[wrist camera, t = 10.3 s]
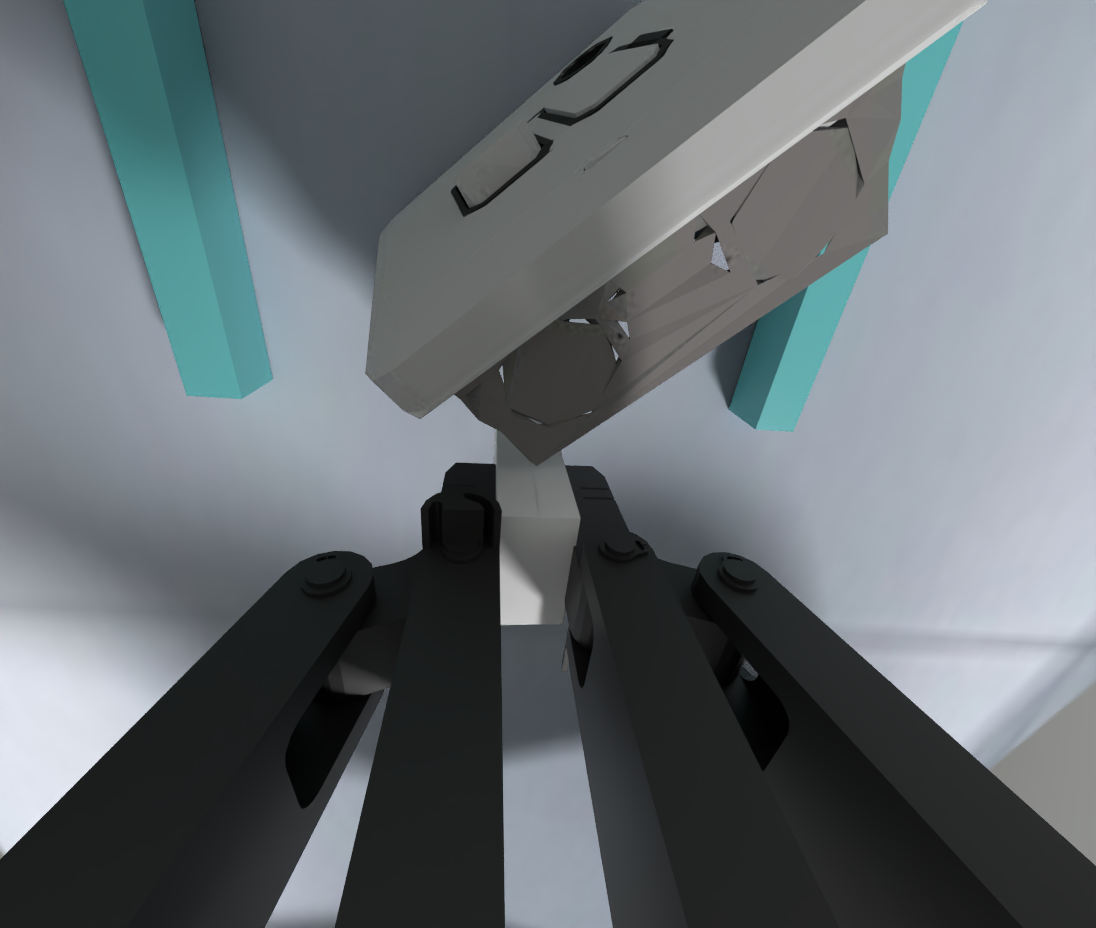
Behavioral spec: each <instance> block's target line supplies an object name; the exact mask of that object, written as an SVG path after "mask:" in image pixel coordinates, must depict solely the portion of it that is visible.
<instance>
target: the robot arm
mask: <svg viewBox="0 0 1096 928" xmlns="http://www.w3.org/2000/svg"><path fill="white" fill-rule="evenodd" d="M527 418H528V417H527ZM529 419H530V418H529ZM531 420H532V421H534V422H535V423H537V424H542V423H541V422H539V421H536V420H533V419H531ZM532 463H533V462H532ZM532 463H531V462H530V461H529V460H528V459H527V458H526V457H525V456H524V455H523V454H522V453H521V452H520V451H519V450H518V449H517V448H516V447H515V446H514V445H513V444H512V443H511V442H510V440H509V439H508V438H507V437H506V436H505V435H504V434H503V433H502V432H501V431H499V430H497V429H495V445H494V464H479V463H455V464H454V465H453V466H452V467H451V468H450V469H449V470H448V471H447V472H446V473H445V477H444V482H443V487H442V491H441V493H437V494H435V495H434V496H432V497H431V498H429V499H428V500H426V501H425V503H424V505H423V506H422V508H421V526H422V546H423V549H422V550H421V551H420V552H419V553H417V554H416V555H414V556H412V557H410V558H408V559H406V560H403V561H400V562H396V563H393V564H388V565H384V566H379V567H375V568H372V564H371V563H370V562H369V561H368V560H367V559H366V558H365V557H364V556H362V555H359V554H356V553H353V552H349V551H332V552H327V553H322V554H317V555H315V556H312V557H310V558H308V559H305V560H303V561H301V562H299V563H298V564H296V565H295V566H294V567H292V568H291V569H290V570H288V571H287V572H286V573H285V574H284V575H283V576H282V577H281V578H280V579H279V580H278V581H277V582H276V583H275V584H274V585H273V586H272V587H271V588H270V589H269V590H268V591H267V592H266V593H265V594H264V595H263V596H262V597H261V598H260V599H259V600H258V601H257V602H256V603H255V604H254V605H253V606H252V607H251V608H250V609H249V610H248V611H247V612H246V613H245V614H244V615H243V616H242V617H241V618H240V619H239V620H238V621H237V622H236V623H235V624H234V625H233V626H232V627H231V628H230V629H229V630H228V631H227V632H226V633H225V634H224V635H223V636H222V637H221V638H220V639H219V640H218V641H217V642H216V643H215V644H214V645H213V646H212V647H211V648H210V649H209V650H208V651H207V652H206V653H205V654H204V655H203V656H202V657H201V658H200V659H199V660H198V661H197V662H196V663H195V664H194V665H193V666H192V667H191V668H190V669H189V670H188V671H187V672H186V673H185V674H184V675H183V676H182V677H181V678H180V679H179V680H178V681H177V682H176V683H175V684H174V685H173V686H172V687H171V688H170V689H169V690H168V691H167V693H166V694H165V695H164V696H163V697H162V698H161V699H160V700H159V701H158V702H157V703H156V704H155V705H154V706H153V707H152V708H151V709H150V710H149V711H148V712H147V713H146V714H145V715H144V716H143V717H142V718H141V719H140V720H139V721H138V722H137V723H136V724H135V725H134V726H133V727H132V728H131V729H130V730H129V731H128V732H127V733H126V734H125V735H124V736H123V737H122V738H121V739H120V740H119V741H118V742H117V743H116V744H115V745H114V746H113V747H112V748H111V749H110V750H109V751H108V752H107V753H106V754H105V755H104V756H103V757H102V758H101V759H100V760H99V761H98V762H97V763H96V764H95V765H94V766H93V767H92V768H91V769H90V770H89V771H88V772H87V773H86V774H85V775H84V776H83V777H82V778H81V779H80V780H79V781H78V782H77V783H76V784H75V785H74V786H73V787H72V788H71V789H70V790H69V791H68V792H67V793H66V794H65V795H64V796H63V797H62V798H61V799H60V800H59V801H58V802H57V803H56V804H55V805H54V806H53V807H52V808H51V809H50V810H49V811H48V812H47V813H46V814H45V815H44V816H43V817H42V818H41V819H40V820H39V821H38V822H37V823H36V824H35V825H34V826H33V827H32V828H31V829H30V830H29V831H28V832H27V833H26V834H25V835H24V836H23V837H22V838H21V839H20V840H19V841H18V842H17V843H16V844H15V845H14V846H13V847H12V848H11V849H10V850H9V851H8V852H7V853H6V854H5V855H4V856H3V857H2V858H1V859H0V928H265V926H266V924H267V922H268V920H269V918H270V916H271V914H272V912H273V910H274V908H275V906H276V904H277V902H278V900H279V898H280V896H281V894H282V892H283V890H284V888H285V886H286V884H287V883H288V881H289V879H290V877H291V875H292V873H293V871H294V869H295V867H296V865H297V863H298V861H299V859H300V857H301V855H302V853H303V851H304V849H305V847H306V845H307V843H308V841H309V839H310V837H311V835H312V833H313V831H314V829H315V827H316V825H317V823H318V821H319V819H320V817H321V815H322V813H323V811H324V809H325V807H326V805H327V803H328V802H329V800H330V798H331V796H332V794H333V792H334V790H335V788H336V786H337V784H338V782H339V780H340V778H341V776H342V774H343V772H344V770H345V768H346V766H347V764H348V762H349V760H350V758H351V756H352V754H353V752H354V750H355V748H356V746H357V744H358V742H359V740H360V738H361V736H362V734H363V732H364V730H365V728H366V726H367V724H368V723H369V721H370V719H371V717H372V715H373V713H374V711H375V709H376V707H377V705H378V703H379V701H380V699H381V697H382V695H383V692H384V689H385V688H388V687H390V691H389V696H388V700H387V704H386V709H385V713H384V717H383V722H382V726H381V730H380V735H379V739H378V743H377V747H376V752H375V756H374V760H373V765H372V769H371V773H370V778H369V782H368V786H367V791H366V795H365V799H364V804H363V808H362V812H361V816H360V821H359V825H358V829H357V834H356V838H355V842H354V847H353V851H352V855H351V860H350V864H349V868H348V873H347V877H346V881H345V885H344V890H343V894H342V898H341V903H340V907H339V911H338V916H337V920H336V924H335V928H505V902H504V830H503V758H502V685H501V625H533V624H563V619H564V613H565V607H566V611H567V617H568V622H569V628H568V633H567V639H566V644H565V650H564V655H563V661H562V672H567V669H568V664H569V666H570V672H571V678H572V684H573V690H574V696H575V702H576V708H577V714H578V720H579V726H580V732H581V738H582V744H583V750H584V756H585V762H586V768H587V774H588V780H589V786H590V792H591V798H592V804H593V810H594V816H595V822H596V828H597V834H598V840H599V846H600V852H601V858H602V864H603V870H604V876H605V882H606V888H607V894H608V900H609V906H610V912H611V918H612V924H613V928H1096V866H1095V865H1094V864H1093V863H1092V862H1091V861H1090V860H1088V859H1087V858H1086V857H1085V856H1084V855H1083V854H1082V853H1081V852H1080V851H1078V850H1077V849H1076V848H1075V847H1074V846H1073V845H1072V844H1071V843H1070V842H1068V841H1067V840H1066V839H1065V838H1064V837H1063V836H1062V835H1061V834H1059V833H1058V832H1057V831H1056V830H1055V829H1054V828H1053V827H1052V826H1051V825H1049V824H1048V823H1047V822H1046V821H1045V820H1044V819H1043V818H1042V817H1040V816H1039V815H1038V814H1037V813H1036V812H1035V811H1034V810H1032V808H1030V807H1029V806H1028V805H1027V804H1026V803H1025V802H1024V801H1023V800H1021V799H1020V798H1019V797H1018V796H1017V795H1016V794H1015V793H1013V791H1011V790H1010V789H1009V788H1008V787H1007V786H1006V785H1005V784H1004V783H1002V782H1001V781H1000V780H999V779H998V778H997V777H996V776H995V775H994V774H992V773H991V772H990V771H989V770H988V769H987V768H986V767H985V766H983V765H982V764H981V763H980V762H979V761H978V760H977V759H976V758H975V757H973V756H972V755H971V754H970V753H969V752H968V751H967V750H966V749H964V748H963V747H962V746H961V745H960V744H959V743H958V742H957V741H956V740H954V739H953V738H952V737H951V736H950V735H949V734H948V733H947V732H945V731H944V730H943V729H942V728H941V727H940V726H939V725H938V724H937V723H935V722H934V721H933V720H932V719H931V718H930V717H929V716H928V715H926V714H925V713H924V712H923V711H922V710H921V709H920V708H919V707H918V706H916V705H915V704H914V703H913V702H912V701H911V700H910V699H909V698H907V697H906V696H905V695H904V694H903V693H902V692H901V691H900V690H899V689H897V688H896V687H895V686H894V685H893V684H892V683H891V682H890V681H888V680H887V679H886V678H885V677H884V676H883V675H882V674H881V673H880V672H878V671H877V670H876V669H875V668H874V667H873V666H872V665H871V664H869V663H868V662H867V661H866V660H865V659H864V658H863V657H862V656H861V655H859V654H858V653H857V652H856V651H855V650H854V649H853V648H852V647H850V646H849V645H848V644H847V643H846V642H845V641H844V640H843V639H842V638H840V637H839V636H838V635H837V634H836V633H835V632H834V631H833V630H831V629H830V628H829V627H828V626H827V625H826V624H825V623H824V622H823V621H821V620H820V619H819V618H818V617H817V616H816V615H815V614H814V613H812V612H811V611H810V610H809V609H808V608H807V607H806V606H805V605H804V604H802V603H801V602H800V601H799V600H798V599H797V598H796V597H795V596H793V595H792V594H791V593H790V592H789V591H788V590H787V589H786V588H785V587H783V586H782V585H781V584H780V583H779V582H778V581H777V580H776V579H774V578H773V577H772V576H771V575H770V574H769V573H768V572H767V571H765V570H764V569H763V568H761V567H760V566H758V565H757V564H756V563H754V562H752V561H750V560H748V559H746V558H744V557H741V556H739V555H735V554H730V553H726V552H720V553H711V554H708V555H706V556H704V557H703V558H702V560H701V561H700V563H699V565H698V568H697V569H694V568H690V567H686V566H681V565H677V564H673V563H669V562H666V561H663V560H660V559H658V558H657V557H656V555H655V553H654V551H653V549H652V548H651V547H650V546H649V544H648V543H647V542H646V541H645V540H643V539H642V538H640V537H639V536H638V535H636V534H634V533H631V532H629V530H628V528H627V526H626V524H625V521H624V519H623V517H622V515H621V513H620V510H619V508H618V506H617V504H616V501H615V500H614V497H613V495H612V492H611V490H610V488H609V486H608V483H607V481H606V479H605V477H604V476H603V475H602V474H601V473H600V472H598V471H597V470H596V469H595V468H594V467H592V466H567V465H565V464H564V461H563V457H562V454H561V451H559V452H557V453H556V454H554V455H553V456H551V457H550V458H548V459H547V460H545V461H544V462H542V463H541V464H539V465H538V466H536V465H535V464H534V463H533V464H532ZM746 660H747V661H748V662H749V663H750V665H751V666H752V667H753V668H754V669H755V671H756V672H757V673H758V674H759V675H758V677H755V676H752V675H751V674H750V673H749V672H748V671H747V670H746V669H745V668H744V667H743V665H744V663H745V661H746Z"/></svg>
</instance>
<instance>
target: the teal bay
mask: <svg viewBox="0 0 1096 928" xmlns="http://www.w3.org/2000/svg"><path fill="white" fill-rule="evenodd" d="M63 1H64V5H65V8H66V11H67V14H68V17H69V21H70V24H71V27H72V30H73V33H74V37H75V40H76V43H77V46H78V49H79V53H80V56H81V59H82V62H83V65H84V69H85V72H86V75H87V78H88V81H89V85H90V88H91V91H92V94H93V97H94V101H95V104H96V107H97V110H98V113H99V117H100V120H101V123H102V126H103V129H104V133H105V136H106V139H107V142H108V145H109V149H110V152H111V155H112V158H113V161H114V165H115V168H116V171H117V174H118V177H119V181H120V184H121V187H122V190H123V193H124V197H125V200H126V203H127V206H128V209H129V213H130V216H131V219H132V222H133V225H134V229H135V232H136V235H137V238H138V241H139V245H140V248H141V251H142V254H143V257H144V261H145V264H146V267H147V270H148V273H149V277H150V280H151V283H152V286H153V289H154V293H155V296H156V299H157V302H158V305H159V309H160V312H161V315H162V318H163V321H164V324H165V328H166V331H167V334H168V337H169V340H170V344H171V347H172V350H173V353H174V356H175V360H176V363H177V366H178V369H179V372H180V376H181V379H182V382H183V385H184V388H185V392H186V395H187V396H201V397H217V398H234V399H242V398H244V397H246V396H247V395H249V394H250V393H252V392H254V391H255V390H257V389H258V388H260V387H261V386H263V385H265V384H266V383H268V382H269V381H271V380H272V379H273V378H272V373H271V368H270V364H269V359H268V354H267V349H266V344H265V340H264V335H263V330H262V325H261V320H260V315H259V311H258V306H257V301H256V296H255V291H254V287H253V282H252V277H251V272H250V267H249V263H248V258H247V253H246V248H245V243H244V239H243V234H242V229H241V224H240V219H239V214H238V210H237V205H236V200H235V195H234V190H233V186H232V181H231V176H230V171H229V166H228V162H227V157H226V152H225V147H224V142H223V138H222V133H221V128H220V123H219V118H218V113H217V109H216V104H215V99H214V94H213V89H212V85H211V80H210V75H209V70H208V65H207V61H206V56H205V51H204V46H203V41H202V37H201V32H200V27H199V22H198V17H197V12H196V8H195V3H194V0H63ZM963 21H964V20H963ZM963 21H962V22H960V23H959V24H958V25H956V26H955V27H954V28H952V29H951V30H949V31H948V32H947V33H945V34H944V35H943V36H941V37H940V38H939V39H937V40H936V41H934V42H933V43H932V44H930V45H929V46H928V47H926V48H925V49H924V50H922V51H921V52H919V53H918V54H917V55H915V56H914V57H913V58H911V59H910V60H909V61H907V62H906V65H905V69H904V73H903V77H902V103H901V121H900V124H899V128H898V131H897V134H896V138H895V141H894V145H893V148H892V152H891V155H890V158H889V179H888V202H889V199H890V197H891V194H892V192H893V190H894V187H895V185H896V182H897V180H898V178H899V175H900V173H901V170H902V168H903V165H904V163H905V161H906V158H907V156H908V153H909V151H910V149H911V146H912V144H913V141H914V139H915V137H916V134H917V132H918V129H919V127H920V124H921V122H922V120H923V117H924V115H925V112H926V110H927V108H928V105H929V103H930V100H931V98H932V96H933V93H934V91H935V88H936V86H937V84H938V81H939V79H940V76H941V74H942V71H943V69H944V67H945V64H946V62H947V59H948V57H949V55H950V52H951V50H952V47H953V45H954V43H955V40H956V38H957V35H958V33H959V30H960V28H961V26H962V23H963ZM827 245H828V244H827ZM827 245H826V246H825V247H824V248H823V249H822V251H821V252H820V253H819V254H818V255H817V257H818V256H820V255H822V254H824V252H825V249H826V247H827ZM869 247H870V246H868V247H867V248H865V249H863V250H862V251H860V252H859V253H857V254H856V255H854V256H853V257H851V258H850V259H848V260H847V261H845V262H844V263H842V264H841V265H839V266H838V267H836V268H835V269H833V270H832V271H830V272H829V273H827V274H826V275H824V276H823V277H821V278H820V279H818V280H817V281H815V282H814V283H812V284H811V285H809V286H808V287H806V288H805V289H803V290H802V291H800V292H799V293H797V294H796V295H794V296H793V297H791V298H790V299H788V300H787V301H785V302H784V303H782V304H781V305H779V306H778V307H776V308H775V309H773V310H771V311H770V312H768V313H767V314H765V315H764V316H762V317H761V318H759V319H758V322H757V325H756V328H755V331H754V334H753V337H752V340H751V343H750V346H749V349H748V352H747V355H746V358H745V362H744V365H743V368H742V371H741V374H740V377H739V380H738V383H737V386H736V389H735V392H734V395H733V398H732V401H731V404H730V407H729V410H730V411H731V412H733V413H734V414H735V415H737V416H738V417H740V418H741V419H742V420H744V421H745V422H746V423H748V424H749V425H750V426H752V427H753V428H754V429H756V430H773V431H790V432H793V431H794V428H795V426H796V423H797V421H798V419H799V416H800V414H801V411H802V409H803V407H804V404H805V402H806V399H807V397H808V395H809V392H810V390H811V387H812V385H813V382H814V380H815V378H816V375H817V373H818V370H819V368H820V366H821V363H822V361H823V358H824V356H825V354H826V351H827V349H828V346H829V344H830V341H831V339H832V337H833V334H834V332H835V329H836V327H837V325H838V322H839V320H840V317H841V315H842V313H843V310H844V308H845V305H846V303H847V300H848V298H849V296H850V293H851V291H852V288H853V286H854V284H855V281H856V279H857V276H858V274H859V272H860V269H861V267H862V264H863V262H864V259H865V257H866V255H867V252H868V250H869Z"/></svg>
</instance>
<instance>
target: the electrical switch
mask: <svg viewBox="0 0 1096 928" xmlns="http://www.w3.org/2000/svg"><path fill="white" fill-rule="evenodd" d="M986 3H987V0H645V1H643V2H641V3H640V4H638V5H636V6H635V7H633V8H631V9H630V10H629V11H628V12H626V13H625V14H624V15H623V16H622V17H621V18H620V19H618V20H617V21H616V22H615V23H614V24H613V25H612V26H610V27H609V28H608V29H607V30H606V31H605V32H604V33H603V34H601V35H600V36H599V37H598V38H597V39H596V40H595V41H593V42H592V43H591V44H590V45H589V46H588V47H587V48H585V49H584V50H583V51H582V52H581V53H580V54H579V55H578V56H576V57H575V58H574V59H573V60H572V61H571V62H570V63H568V64H567V65H566V66H565V67H564V68H563V69H562V70H561V71H559V72H558V73H557V74H556V75H555V76H554V77H553V78H551V79H550V80H549V81H548V82H547V83H546V84H545V85H543V86H542V87H541V88H540V89H539V90H538V91H537V92H536V93H534V94H533V95H532V96H531V97H530V98H529V99H528V100H526V101H525V102H524V103H523V104H522V105H521V106H520V107H518V108H517V109H516V110H515V111H514V112H513V113H512V114H511V115H509V116H508V117H507V118H506V119H505V120H504V121H503V122H501V123H500V124H499V125H498V126H497V127H496V128H495V129H494V130H492V131H491V132H490V133H489V134H488V135H487V136H486V137H484V138H483V139H482V140H481V141H480V142H479V143H478V144H476V145H475V146H474V147H473V148H472V149H471V150H470V151H469V152H467V153H466V154H465V155H464V156H463V157H462V158H461V159H459V160H458V161H457V162H456V163H455V164H454V165H453V166H451V167H450V168H449V169H448V170H447V171H446V172H445V173H444V174H442V175H441V176H440V177H439V178H438V179H437V180H436V181H434V182H433V183H432V184H431V185H430V186H429V187H428V188H427V189H425V190H424V191H423V192H422V193H421V194H420V195H419V196H417V197H416V198H415V199H414V200H413V201H412V202H411V203H409V204H408V205H407V206H406V207H405V208H404V209H403V210H402V211H400V212H399V213H398V214H397V215H396V216H395V217H394V218H393V219H392V220H391V221H390V222H389V223H388V225H387V226H386V227H385V229H384V230H383V231H382V232H381V234H380V235H379V243H378V252H377V262H376V272H375V282H374V292H373V302H372V312H371V322H370V332H369V342H368V352H367V362H366V372H365V374H366V375H367V376H368V377H369V378H370V379H371V380H372V381H373V382H374V383H375V384H376V385H377V386H378V387H379V388H380V389H381V390H382V391H383V392H384V393H385V394H386V395H387V396H388V397H389V398H391V399H392V400H393V401H394V402H395V403H396V404H397V405H398V406H399V407H400V408H401V409H402V410H404V411H405V412H407V413H409V414H411V415H413V416H415V417H417V418H419V419H421V418H422V417H424V416H425V415H426V414H428V413H429V412H431V411H432V410H433V409H435V408H436V407H437V406H439V405H440V404H441V403H443V402H444V401H446V400H447V399H448V398H450V397H451V396H452V395H455V396H457V397H458V398H459V399H461V401H462V402H463V403H464V404H465V405H466V406H467V407H468V409H469V410H470V411H471V412H472V413H473V414H474V415H475V417H476V418H477V419H478V420H479V421H481V422H483V423H485V424H487V425H489V426H491V427H493V428H495V429H497V430H499V431H501V432H502V433H503V434H504V435H505V436H506V437H507V438H508V439H509V440H510V442H511V443H512V444H513V445H514V446H515V447H516V448H517V449H518V450H519V451H520V452H521V453H522V454H523V455H524V456H525V457H526V458H527V459H528V460H529V461H530V462H531V463H532V462H533V463H534V464H535V465H536V466H538V465H539V464H541V463H542V462H544V461H545V460H547V459H548V458H550V457H551V456H553V455H554V454H556V453H557V452H559V451H560V450H562V449H563V448H565V447H566V446H568V445H569V444H571V443H572V442H574V441H575V440H577V439H578V438H580V437H581V436H583V435H584V434H586V433H588V432H589V431H591V430H592V429H594V428H595V427H597V426H598V425H600V424H601V423H603V422H604V421H606V420H607V419H609V418H610V417H612V416H613V415H615V414H616V413H618V412H619V411H621V410H622V409H624V408H625V407H627V406H628V405H630V404H631V403H633V402H634V401H636V400H637V399H639V398H640V397H642V396H643V395H645V394H646V393H648V392H649V391H651V390H652V389H654V388H655V387H657V386H658V385H660V384H661V383H663V382H664V381H666V380H667V379H669V378H670V377H672V376H673V375H675V374H676V373H678V372H680V371H681V370H683V369H684V368H686V367H687V366H689V365H690V364H692V363H693V362H695V361H696V360H698V359H699V358H701V357H702V356H704V355H705V354H707V353H708V352H710V351H711V350H713V349H714V348H716V347H717V346H719V345H720V344H722V343H723V342H725V341H726V340H728V339H729V338H731V337H732V336H734V335H735V334H737V333H738V332H740V331H741V330H743V329H744V328H746V327H747V326H749V325H750V324H752V323H753V322H755V321H756V320H758V319H759V318H761V317H762V316H764V315H765V314H767V313H768V312H770V311H771V310H773V309H775V308H776V307H778V306H779V305H781V304H782V303H784V302H785V301H787V300H788V299H790V298H791V297H793V296H794V295H796V294H797V293H799V292H800V291H802V290H803V289H805V288H806V287H808V286H809V285H811V284H812V283H814V282H815V281H817V280H818V279H820V278H821V277H823V276H824V275H826V274H827V273H829V272H830V271H832V270H833V269H835V268H836V267H838V266H839V265H841V264H842V263H844V262H845V261H847V260H848V259H850V258H851V257H853V256H854V255H856V254H857V253H859V252H860V251H862V250H863V249H865V248H867V247H868V246H870V245H871V244H873V243H874V242H876V241H877V240H879V239H880V238H882V237H883V236H885V235H886V234H888V179H889V158H890V155H891V152H892V148H893V145H894V141H895V138H896V134H897V131H898V128H899V124H900V121H901V103H902V77H903V73H904V69H905V65H906V62H907V61H909V60H910V59H911V58H913V57H914V56H915V55H917V54H918V53H919V52H921V51H922V50H924V49H925V48H926V47H928V46H929V45H930V44H932V43H933V42H934V41H936V40H937V39H939V38H940V37H941V36H943V35H944V34H945V33H947V32H948V31H949V30H951V29H952V28H954V27H955V26H956V25H958V24H959V23H960V22H962V21H963V20H964V19H966V18H967V17H968V16H970V15H971V14H973V13H974V12H975V11H977V10H978V9H979V8H981V7H982V6H983V5H985V4H986ZM694 239H695V241H694ZM716 242H720V245H721V248H722V251H723V253H724V256H725V259H726V261H727V264H728V267H729V270H727V271H726V270H724V269H722V268H720V267H718V266H716V265H714V264H712V263H711V261H712V254H713V248H714V243H716ZM827 244H828V245H827ZM826 245H827V247H826V249H825V252H824V254H822V255H820V256H818V257H817V255H818V254H819V253H820V252H821V251H822V249H823V248H824V247H825V246H826ZM766 279H770V280H768V281H766V282H765V281H763V280H766ZM620 288H621V289H620ZM619 289H620V290H619ZM618 290H619V292H618ZM616 292H617V294H616V295H615V297H614V298H613V299H612V300H610V301H608V300H609V299H610V298H611V297H612V296H613V295H614V294H615V293H616ZM607 301H608V302H607ZM570 319H586V320H587V321H588V322H589V323H590V324H586V323H575V322H569V320H570ZM618 321H624V322H627V324H628V330H629V336H630V337H629V338H628V336H627V335H626V333H625V332H624V330H623V329H622V327H621V326H620V324H619V323H618ZM612 346H613V348H614V349H615V351H616V352H617V354H618V356H619V357H618V359H617V361H616V360H615V356H614V352H613V349H612ZM502 365H503V376H504V383H503V380H502V377H501V375H500V372H499V369H500V368H501V366H502ZM589 411H592V412H591V413H588V414H584V413H587V412H589ZM582 414H584V415H582ZM527 417H528V418H527ZM529 418H530V419H529ZM531 419H533V420H536V421H539V422H541V423H542V424H537V423H535V422H534V421H532V420H531ZM533 463H532V464H533Z"/></svg>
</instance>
